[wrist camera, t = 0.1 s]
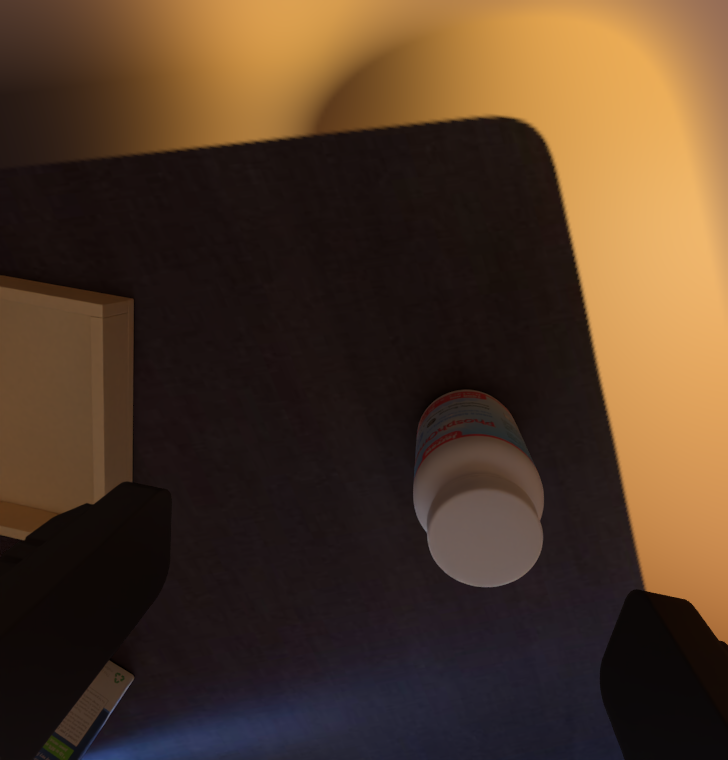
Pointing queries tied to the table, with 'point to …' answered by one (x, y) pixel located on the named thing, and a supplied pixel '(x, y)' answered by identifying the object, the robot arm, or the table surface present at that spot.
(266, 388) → the table surface
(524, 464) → the pill bottle
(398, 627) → the table surface
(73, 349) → the tray
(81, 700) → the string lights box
